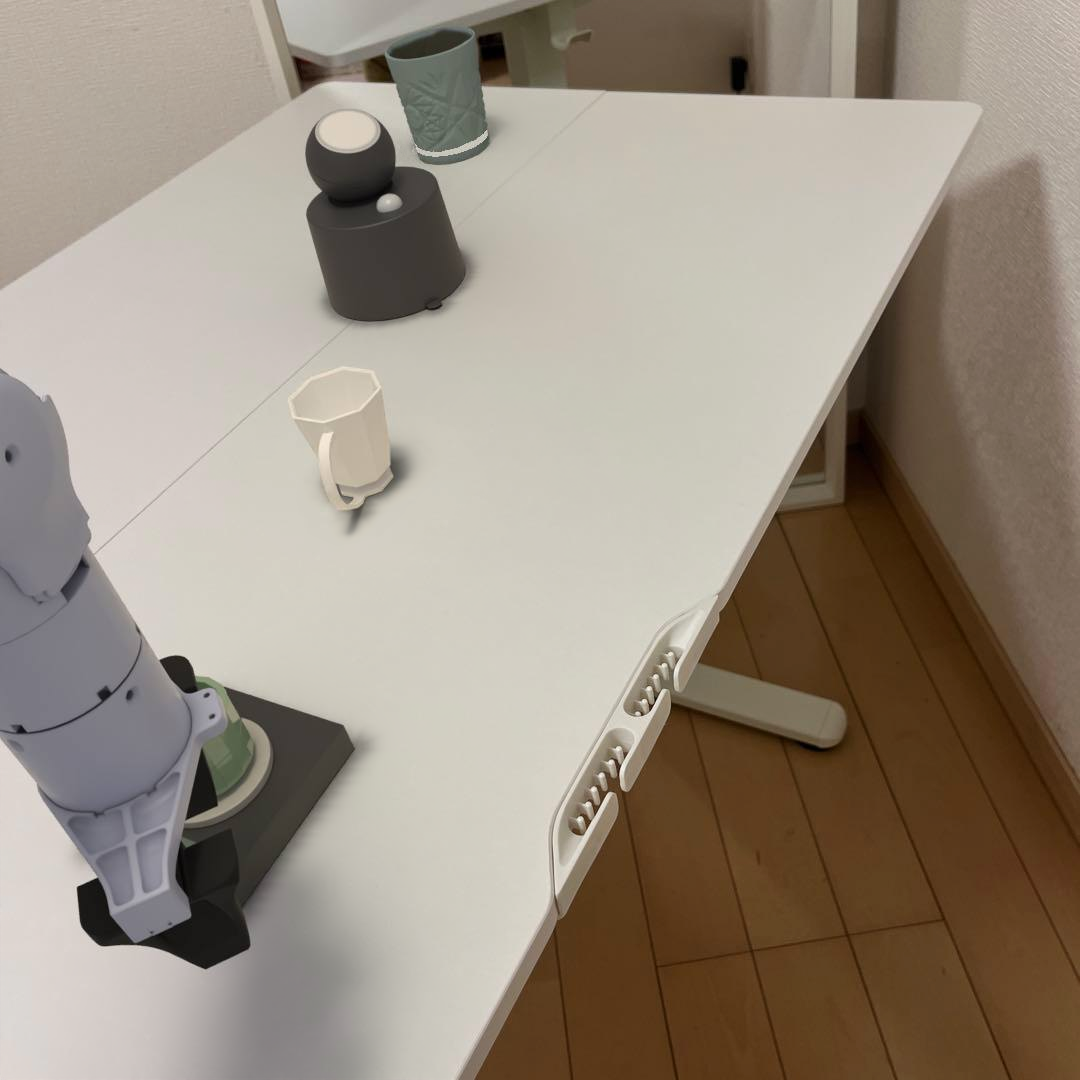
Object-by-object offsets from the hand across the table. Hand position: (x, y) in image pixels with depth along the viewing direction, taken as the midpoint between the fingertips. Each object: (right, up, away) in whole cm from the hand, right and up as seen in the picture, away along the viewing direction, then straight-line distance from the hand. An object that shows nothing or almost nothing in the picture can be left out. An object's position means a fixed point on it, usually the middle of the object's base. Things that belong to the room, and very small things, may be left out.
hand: (209, 876), depth 47 cm
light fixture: (+1, +39, +59) cm, 71 cm away
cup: (+1, +18, +36) cm, 40 cm away
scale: (-4, 0, +16) cm, 17 cm away
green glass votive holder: (-4, +2, +15) cm, 15 cm away
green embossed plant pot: (+4, +60, +82) cm, 102 cm away
